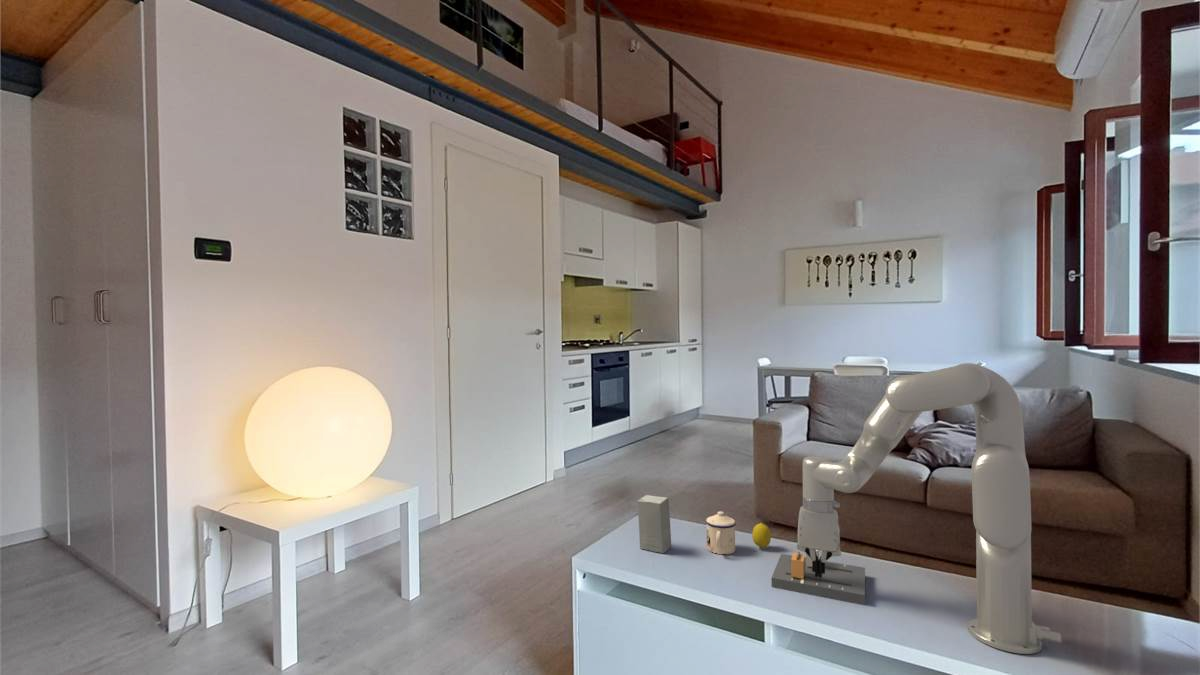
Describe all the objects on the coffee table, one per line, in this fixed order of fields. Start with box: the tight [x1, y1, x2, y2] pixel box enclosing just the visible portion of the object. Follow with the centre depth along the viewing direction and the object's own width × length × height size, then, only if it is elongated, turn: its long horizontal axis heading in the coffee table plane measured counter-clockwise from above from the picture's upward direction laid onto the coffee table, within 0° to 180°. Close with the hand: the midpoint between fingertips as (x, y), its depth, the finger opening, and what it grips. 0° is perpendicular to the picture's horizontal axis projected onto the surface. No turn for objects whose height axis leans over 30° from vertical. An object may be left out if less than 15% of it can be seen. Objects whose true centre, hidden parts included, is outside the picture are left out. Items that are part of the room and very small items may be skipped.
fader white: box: [805, 550, 820, 567], centre depth 148 cm, size 3×5×5 cm, turn 153°
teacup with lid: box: [705, 510, 737, 555], centre depth 164 cm, size 12×9×12 cm
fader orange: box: [791, 551, 806, 579], centre depth 141 cm, size 3×5×5 cm, turn 153°
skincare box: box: [637, 494, 672, 554], centre depth 166 cm, size 8×7×16 cm
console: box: [770, 553, 866, 606], centre depth 143 cm, size 22×18×2 cm
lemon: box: [752, 522, 772, 549], centre depth 166 cm, size 6×6×8 cm
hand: (818, 575), depth 139 cm, fingers closed
